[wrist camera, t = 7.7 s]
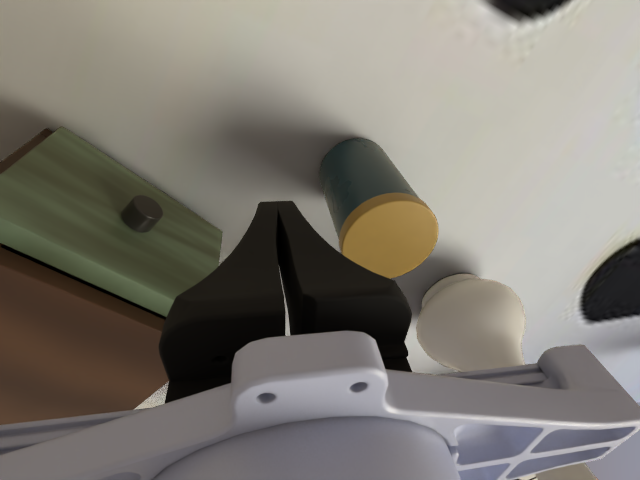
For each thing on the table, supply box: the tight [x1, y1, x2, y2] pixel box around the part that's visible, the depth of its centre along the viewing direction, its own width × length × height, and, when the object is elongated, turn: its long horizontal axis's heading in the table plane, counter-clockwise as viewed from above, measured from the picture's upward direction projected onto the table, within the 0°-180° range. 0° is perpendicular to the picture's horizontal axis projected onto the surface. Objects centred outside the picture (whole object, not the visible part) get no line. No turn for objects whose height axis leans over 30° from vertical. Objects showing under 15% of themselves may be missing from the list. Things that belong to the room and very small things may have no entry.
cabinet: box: [0, 128, 169, 425], centre depth 20 cm, size 14×12×10 cm
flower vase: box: [416, 274, 598, 480], centre depth 24 cm, size 13×18×25 cm
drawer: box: [0, 127, 222, 320], centre depth 20 cm, size 14×10×8 cm
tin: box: [319, 139, 438, 279], centre depth 20 cm, size 5×5×8 cm
